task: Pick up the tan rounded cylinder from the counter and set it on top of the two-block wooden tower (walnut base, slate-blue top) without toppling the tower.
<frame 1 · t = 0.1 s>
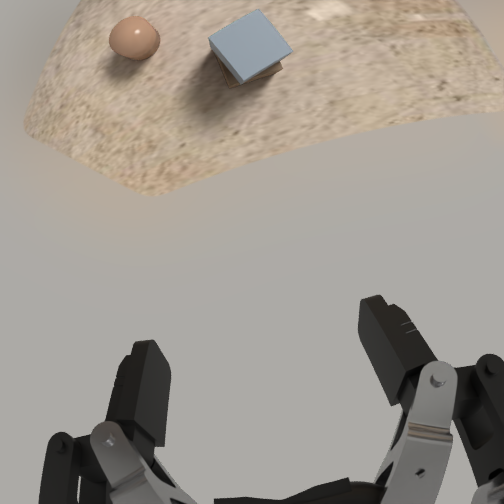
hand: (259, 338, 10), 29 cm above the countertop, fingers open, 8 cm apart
tower base: (243, 60, 29), on the countertop, touching tower top
tower top: (247, 52, 24), point 5 cm above the countertop, touching tower base
tan rounded cylinder: (141, 43, 26), on the countertop
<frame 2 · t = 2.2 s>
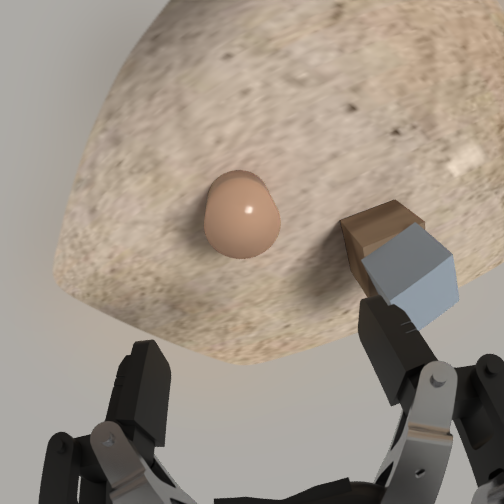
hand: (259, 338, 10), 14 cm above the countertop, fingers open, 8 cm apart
tower base: (373, 236, 26), on the countertop, touching tower top
tower top: (398, 263, 21), point 5 cm above the countertop, touching tower base
tan rounded cylinder: (238, 200, 23), on the countertop
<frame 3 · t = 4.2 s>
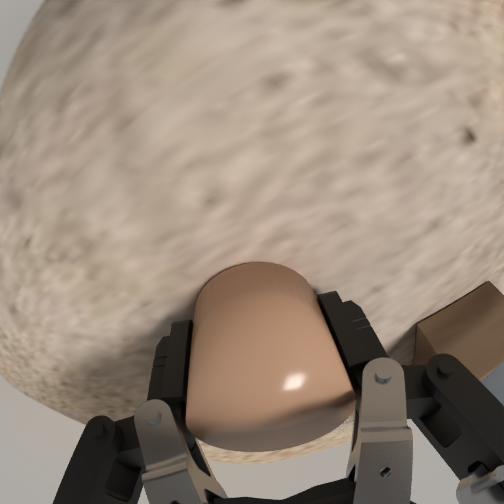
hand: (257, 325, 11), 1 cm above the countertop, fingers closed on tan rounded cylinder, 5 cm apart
tower base: (451, 332, 14), on the countertop, touching tower top
tower top: (488, 387, 10), point 5 cm above the countertop, touching tower base
tan rounded cylinder: (256, 314, 11), on the countertop, touching gripper
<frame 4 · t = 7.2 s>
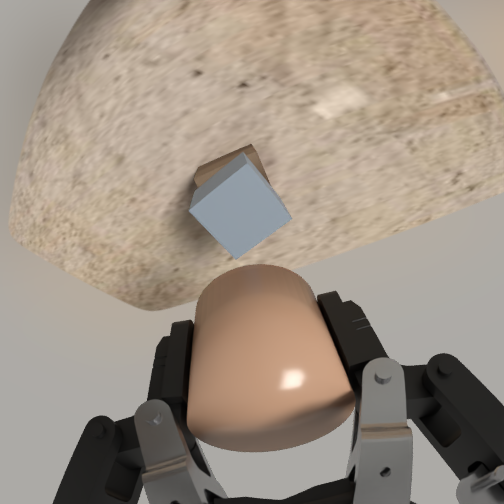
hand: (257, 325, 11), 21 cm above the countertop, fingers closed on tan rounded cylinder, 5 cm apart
tower base: (236, 180, 30), on the countertop, touching tower top
tower top: (238, 193, 25), point 5 cm above the countertop, touching tower base
tan rounded cylinder: (256, 316, 12), point 21 cm above the countertop, touching gripper
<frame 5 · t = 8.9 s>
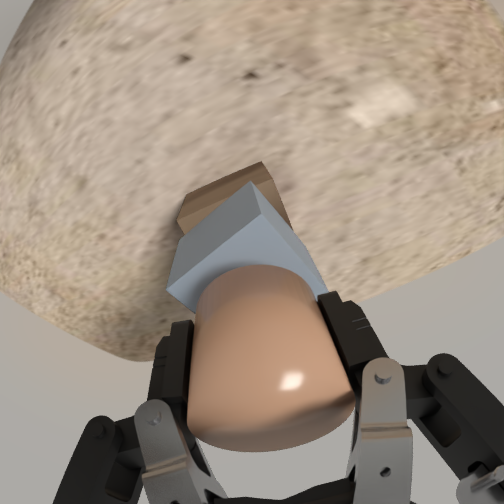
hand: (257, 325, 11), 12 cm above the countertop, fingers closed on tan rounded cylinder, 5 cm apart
tower base: (239, 212, 22), on the countertop, touching tower top
tower top: (243, 242, 17), point 5 cm above the countertop, touching tower base
tan rounded cylinder: (256, 316, 12), point 11 cm above the countertop, touching gripper
when the fingers open (12 cm above the countertop, at t = 10.1 s): tan rounded cylinder drops 1 cm, resting on tower top.
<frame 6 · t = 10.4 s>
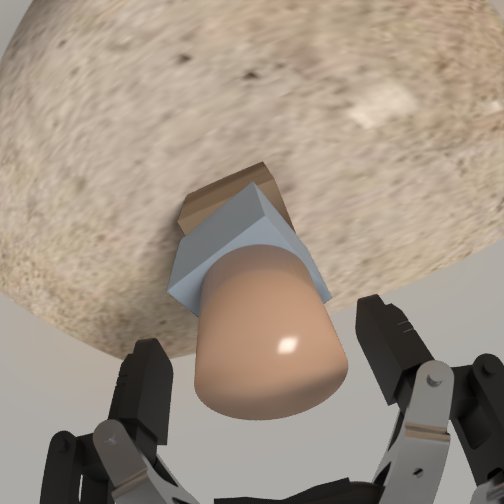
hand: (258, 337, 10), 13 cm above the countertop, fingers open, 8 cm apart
tower base: (240, 212, 21), on the countertop, touching tower top
tower top: (245, 244, 17), point 5 cm above the countertop, touching tan rounded cylinder, tower base
tan rounded cylinder: (257, 293, 13), point 10 cm above the countertop, touching tower top
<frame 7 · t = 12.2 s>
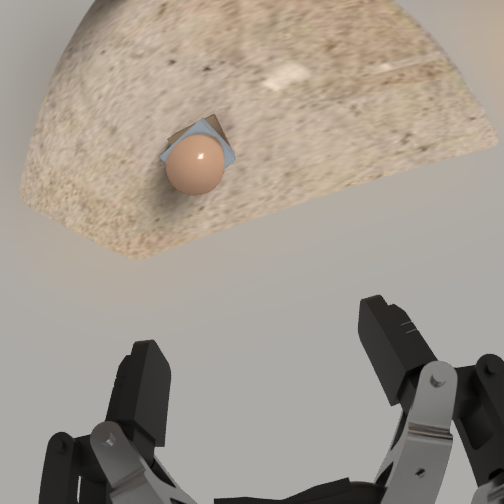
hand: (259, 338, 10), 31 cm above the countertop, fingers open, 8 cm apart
tower base: (203, 142, 36), on the countertop, touching tower top
tower top: (200, 149, 31), point 5 cm above the countertop, touching tan rounded cylinder, tower base
tan rounded cylinder: (199, 156, 27), point 10 cm above the countertop, touching tower top
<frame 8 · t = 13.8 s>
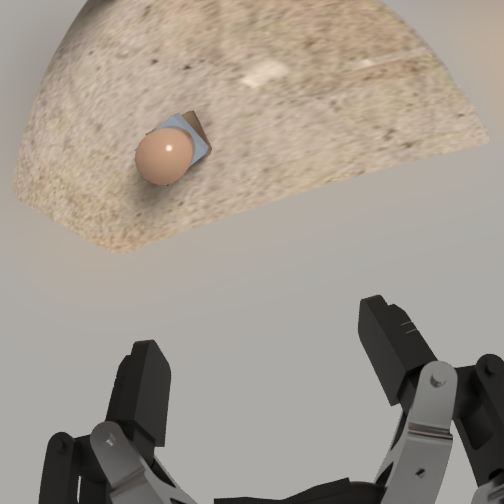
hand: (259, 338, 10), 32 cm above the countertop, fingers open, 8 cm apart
tower base: (183, 138, 36), on the countertop, touching tower top
tower top: (176, 144, 32), point 5 cm above the countertop, touching tan rounded cylinder, tower base
tan rounded cylinder: (171, 149, 27), point 10 cm above the countertop, touching tower top
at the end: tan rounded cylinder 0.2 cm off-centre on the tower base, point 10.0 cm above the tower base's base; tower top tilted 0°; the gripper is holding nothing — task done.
